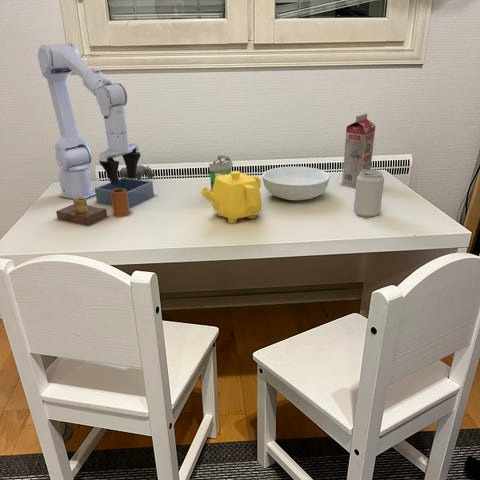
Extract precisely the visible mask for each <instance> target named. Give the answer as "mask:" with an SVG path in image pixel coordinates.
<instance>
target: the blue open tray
mask: <svg viewBox="0 0 480 480" xmlns="http://www.w3.org/2000/svg"><path fill="white" fill-rule="evenodd" d="M118 180H119V184H118V185H112V184H111V182H110V181H109V182H107V183H105V184H102V185H100V186H97V187H95V188H94V192H95V193H96V195H95V199H96V203H97V204H103V205H108V206H112V200H111V194H110V191H111V190H113V189H117V188H123V189H126V190H127V196H128V203H129V208H130V207H133V206H135V205H138V204H140V203H142V202H144V201H146V200H148V199H150V198H153V197H155V192H154V182H153V181H151V180H142V179H140V180H137V178H135V179H130V178H120V177H119V178H118Z"/></svg>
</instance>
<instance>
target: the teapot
mask: <svg viewBox="0 0 480 480" xmlns="http://www.w3.org/2000/svg"><path fill="white" fill-rule="evenodd" d="M215 175H216V178H215V181H214V185H213V189H212V192H211V189H210V188H208V187H206V186H205V187H203V188H202V189H201V191H200V195H201V196H203V197H204V198H205V199H206V200H208V201H209V202H210V203H211V206H212V208H213V210H214V211H215V212H216V213H217V216H218V217H221V218H223V217H225V218H227V222H228V224H229V223H230V224H235V223H237V222H238V219H242V218H247V219H252V220H253V219H255V218H256V215H258V214H260V212H261V209H262V196H261V190H260V189H261V186H262V181H261V179H260V178H259V177H258V176H256V175H249V174H247V173H246V174H245V173H242V172H241V171H239V170H233V171H232V170H231V172H230V174H227V175H222V174H215Z"/></svg>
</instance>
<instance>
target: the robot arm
mask: <svg viewBox="0 0 480 480" xmlns="http://www.w3.org/2000/svg"><path fill="white" fill-rule="evenodd" d="M37 51H38V52H37V60H38V63H39V67H40V71H41V75H42V77H43V78H45V79H46V81H47V85H48V90H49V93H50V97H51V102H52V106H53V109H54V114H55V118H56V121H57V122H56V123H57V126H58V129H59V134H60V138H59V140H58V141H57V142H56V143H55V145H54V149H55V160H56V163H57V165H58V166H59V167H60V170H59V171H58V172H59V173H58V179H59V180H58V181H59V185H60V189H61V194H60V197H61V198H68V199H72V200H73V199H75V198H79V197H84V198H86V199H88V198H91V197H93V196H96V193H95V190H94V191H93V189H92V184H91V179H90V172H89V168H90V164H92V160H93V155H92V152H91V150H90V147H89V145H88V141H87V140H86V139H84V138H83V137H81V136H79V132H78V129H77V124H76V119H75V116H74V112H73V111H74V110H73V108H72V103H71V99H70V95H69V90H68V87H67V82H66V80H67V79H68V76H70V75H71V74H72V73H74V74H76V75H77V76H78V77H80V78H81V79H82V84H83V86H84V87H85V88H86V89H87V90H88V91H89V92H90V93H91V94H92V95H93V96H95V99H96V103H97V104H98V106H99V109H100V113H101V116H103V121H104V127H105V135H106V141H107V147H108V148H107V149H106V150H104V151H103V152H100V153H98V157H99V160H98V161H99V165H100V166H101V167H102V168H103V170H104V171H105V173H106V175H107V177H108V179H109V183H110V182H111V184H112V185H118V184H119V180H118V179H119V166H120V161H119V160H115V159H114V158H118V157H121V156H122V159H123V161H124V164H125V168H126V169H127V174H128V177H129V178H135V177H136V169H137V166H138V165H139V164H138V163H139V160H140V158H141V152H139V151H140V149H139V143H135V142H132V143H129V134H128V127H127V119H126V111H125V106H126V105H127V104H128V93H127V90H126V88H125V86H123V84H122V83H120V82H112V80H111V79H109V78H108V77H107V76H106V75H105V74H104V73H102V72H101V70H100V68H98V67H90V66H89V65H88V64H87V63H86V62H85V60H83V59H82V57H81V56H80V52H79V49H78V48H77V47H76V46H75V45H74V44H73V43H71V42H68V43H61V44H60V43H58V44H41V45H40V46H39V48H38V50H37ZM135 179H136V178H135Z"/></svg>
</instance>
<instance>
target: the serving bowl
mask: <svg viewBox="0 0 480 480" xmlns="http://www.w3.org/2000/svg"><path fill="white" fill-rule="evenodd" d="M330 180H331V177H330V174H329V173H328V172H327V171H325V170H323V169H318V168H315V167H309V166H279V167H275V168H271V169H268V170H266V171H264V172H263V173H262V182H263V185H264V188H265V189H266V190H267V192H268V193H270V194H271V195H273V196H274V197H276V198H280V199H282V200H287V201H297V202H298V201H305V200H309V199H313V198H316V197H318V196H320V195H321V194H322V193H324V192H325V191H326V189H327V187H328V185H329V182H330Z"/></svg>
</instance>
